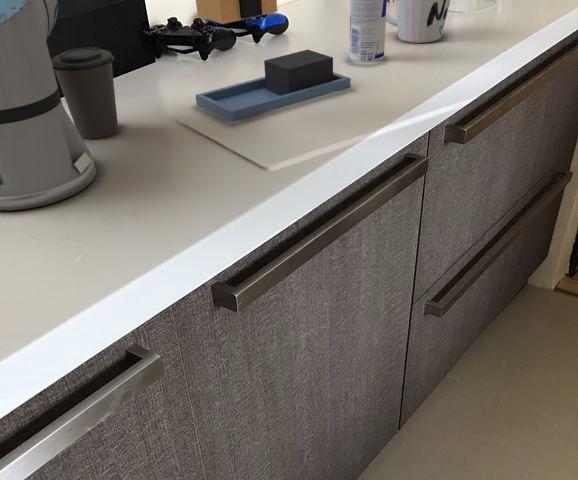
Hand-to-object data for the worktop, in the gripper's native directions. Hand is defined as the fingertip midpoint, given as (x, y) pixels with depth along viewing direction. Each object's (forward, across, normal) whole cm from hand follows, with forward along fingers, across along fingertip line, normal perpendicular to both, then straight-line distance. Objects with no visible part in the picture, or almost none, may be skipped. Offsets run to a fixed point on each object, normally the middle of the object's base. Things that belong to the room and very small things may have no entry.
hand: (236, 11), depth 82 cm
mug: (+14, +16, -44) cm, 49 cm away
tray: (+13, +4, -7) cm, 16 cm away
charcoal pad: (+13, +4, -12) cm, 18 cm away
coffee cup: (+13, +10, +18) cm, 24 cm away
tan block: (0, 0, 0) cm, 0 cm away
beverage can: (+13, +10, -29) cm, 34 cm away
